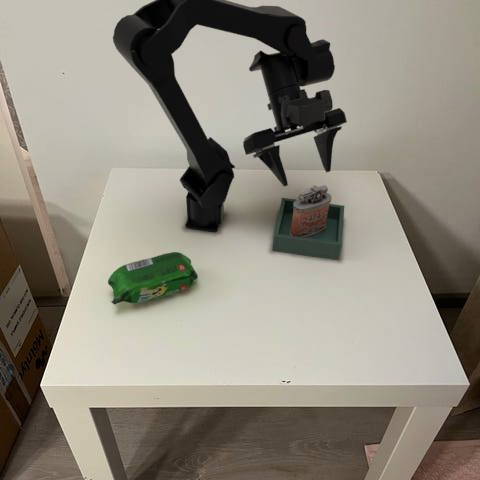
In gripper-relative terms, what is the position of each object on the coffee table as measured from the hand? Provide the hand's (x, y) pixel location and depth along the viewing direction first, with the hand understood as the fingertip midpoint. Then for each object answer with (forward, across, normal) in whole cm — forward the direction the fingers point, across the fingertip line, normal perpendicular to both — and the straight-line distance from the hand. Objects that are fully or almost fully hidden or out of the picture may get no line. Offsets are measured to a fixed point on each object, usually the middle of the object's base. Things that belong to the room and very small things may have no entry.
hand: (307, 178), depth 89 cm
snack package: (+10, -33, +2) cm, 35 cm away
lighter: (+10, -1, +4) cm, 11 cm away
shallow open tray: (+10, 0, +5) cm, 11 cm away
